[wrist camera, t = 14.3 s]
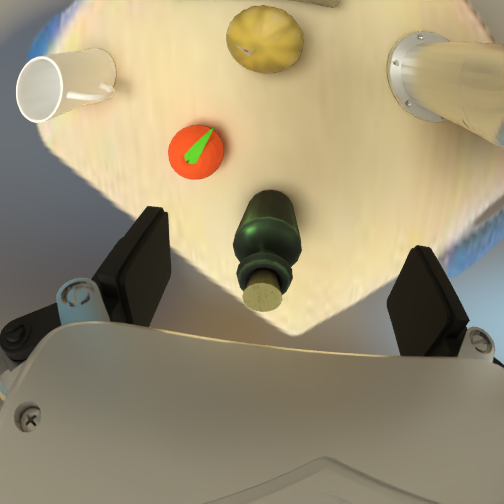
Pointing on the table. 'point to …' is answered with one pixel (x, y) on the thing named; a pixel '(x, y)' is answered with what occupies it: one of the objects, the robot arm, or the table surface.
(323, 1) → the frame
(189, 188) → the table surface
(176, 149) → the clementine
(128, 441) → the robot arm
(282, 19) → the burger with flag pick
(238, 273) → the potion bottle
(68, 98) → the mug
